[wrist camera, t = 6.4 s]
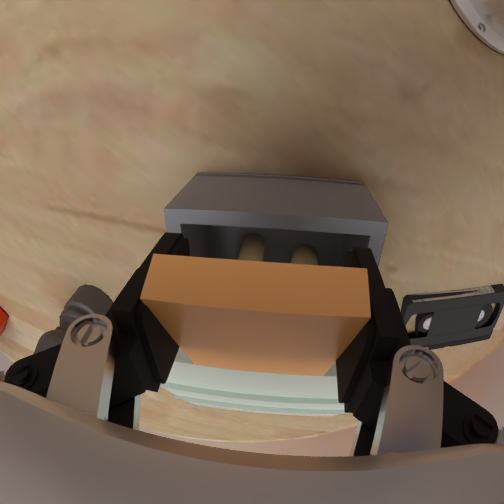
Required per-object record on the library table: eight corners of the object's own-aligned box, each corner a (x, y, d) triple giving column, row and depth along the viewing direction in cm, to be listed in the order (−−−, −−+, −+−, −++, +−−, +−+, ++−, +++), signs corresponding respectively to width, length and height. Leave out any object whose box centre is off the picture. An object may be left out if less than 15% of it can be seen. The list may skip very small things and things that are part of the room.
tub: (362, 182, 25) (388, 222, 18) (329, 347, 35) (332, 403, 28) (198, 172, 26) (164, 208, 19) (211, 338, 36) (196, 392, 29)
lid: (512, 276, 6) (524, 325, 5) (334, 405, 28) (333, 418, 27) (25, 242, 8) (5, 284, 7) (194, 393, 29) (192, 406, 29)
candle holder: (91, 277, 34) (-24, 448, 13) (124, 313, 36) (33, 489, 15) (69, 295, 36) (-31, 443, 15) (100, 327, 38) (17, 479, 17)
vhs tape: (502, 281, 28) (509, 291, 26) (484, 328, 32) (489, 338, 30) (402, 292, 30) (407, 304, 29) (392, 342, 34) (395, 354, 33)
